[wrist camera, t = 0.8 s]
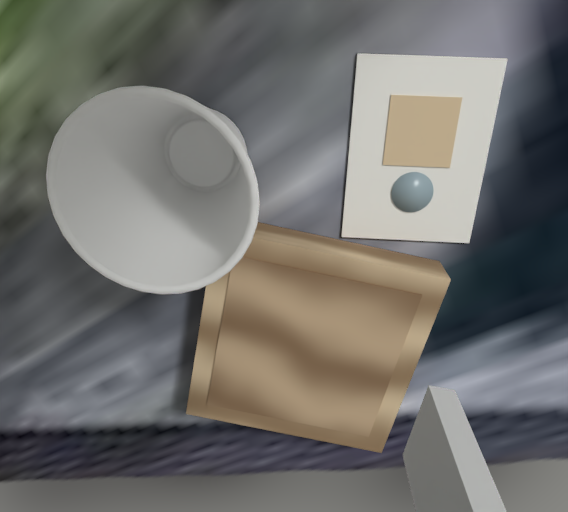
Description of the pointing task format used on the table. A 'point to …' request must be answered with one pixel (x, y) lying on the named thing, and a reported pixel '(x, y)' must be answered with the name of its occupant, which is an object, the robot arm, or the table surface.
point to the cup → (153, 189)
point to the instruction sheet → (419, 145)
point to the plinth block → (314, 337)
